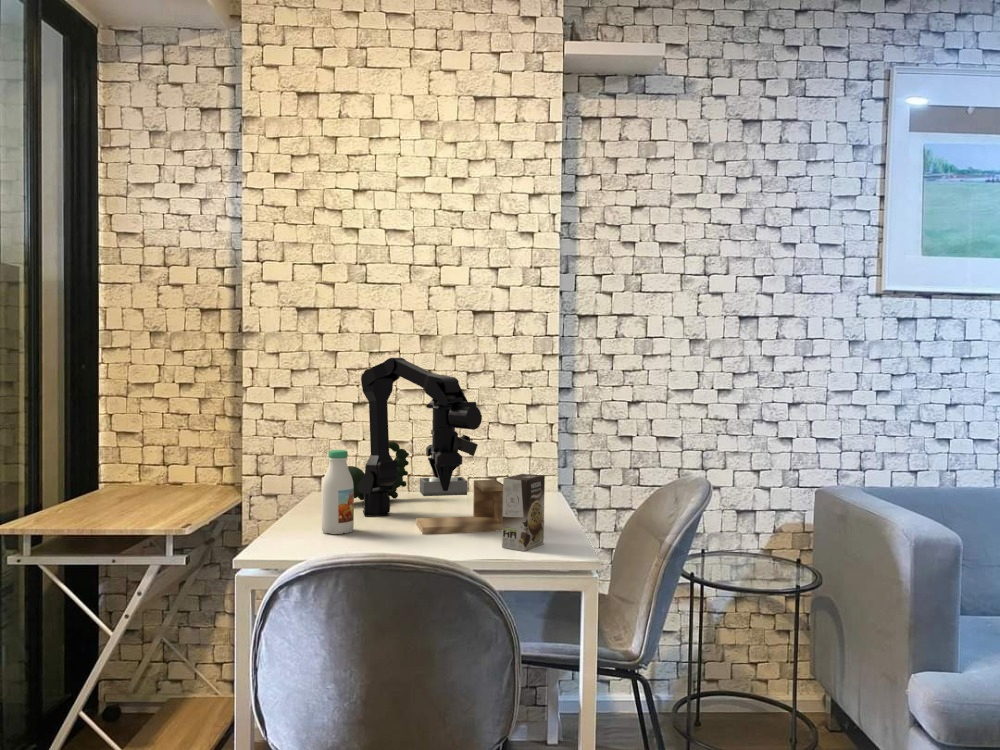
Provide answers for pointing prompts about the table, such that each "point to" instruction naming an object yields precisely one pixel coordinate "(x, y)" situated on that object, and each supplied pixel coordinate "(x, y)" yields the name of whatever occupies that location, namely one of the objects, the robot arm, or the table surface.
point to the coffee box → (523, 511)
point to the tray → (435, 489)
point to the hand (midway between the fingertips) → (443, 488)
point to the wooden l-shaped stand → (484, 512)
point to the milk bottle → (337, 495)
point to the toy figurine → (401, 459)
